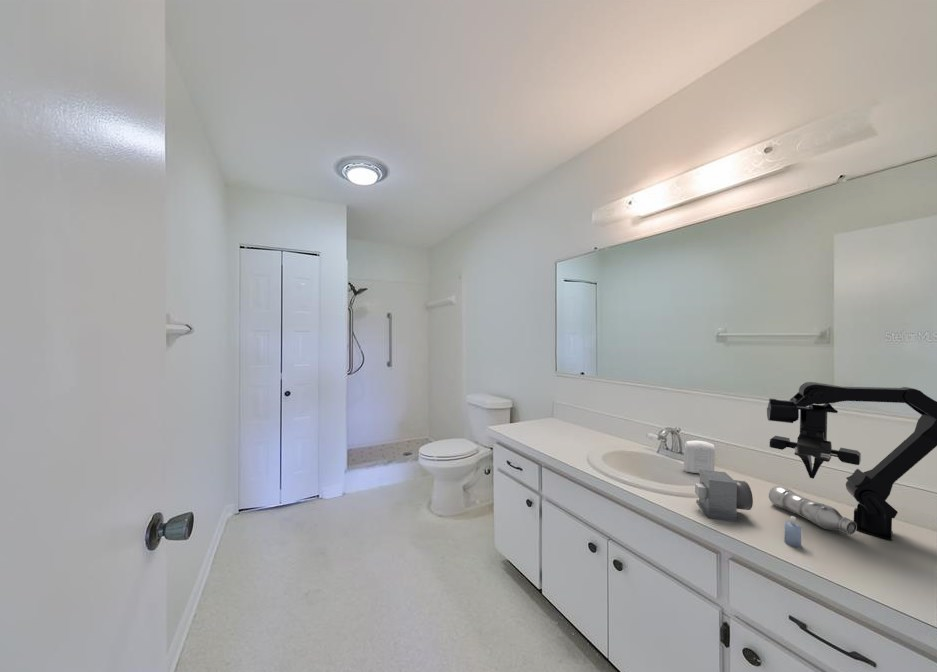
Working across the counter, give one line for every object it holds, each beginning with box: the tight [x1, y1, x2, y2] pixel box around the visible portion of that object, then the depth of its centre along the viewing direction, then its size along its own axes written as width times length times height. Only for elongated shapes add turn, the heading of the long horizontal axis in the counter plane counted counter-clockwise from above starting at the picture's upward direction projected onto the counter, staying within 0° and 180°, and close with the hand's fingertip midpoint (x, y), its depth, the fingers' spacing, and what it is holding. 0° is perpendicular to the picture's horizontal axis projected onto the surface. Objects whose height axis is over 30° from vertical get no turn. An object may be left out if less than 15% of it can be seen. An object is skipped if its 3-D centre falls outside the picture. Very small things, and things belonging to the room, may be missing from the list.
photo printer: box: [683, 439, 716, 474], centre depth 137 cm, size 10×4×12 cm, turn 72°
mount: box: [696, 470, 741, 523], centre depth 107 cm, size 8×10×11 cm
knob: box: [694, 479, 754, 511], centre depth 107 cm, size 13×8×8 cm, turn 74°
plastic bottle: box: [768, 485, 857, 535], centre depth 103 cm, size 6×7×20 cm
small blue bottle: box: [783, 515, 803, 548], centre depth 91 cm, size 3×3×7 cm
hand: (812, 478), depth 103 cm, fingers closed
